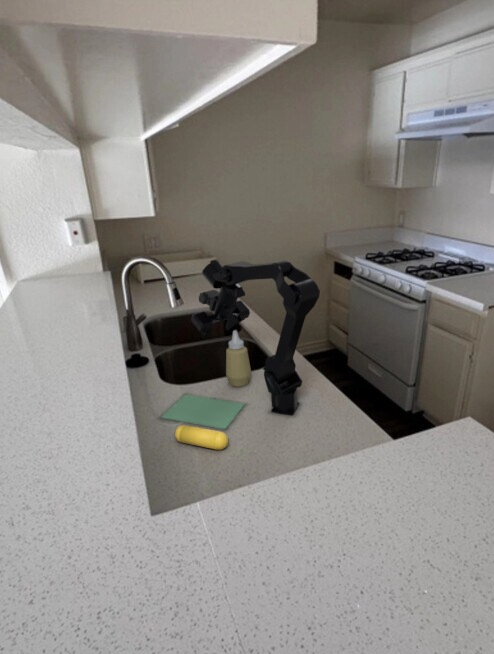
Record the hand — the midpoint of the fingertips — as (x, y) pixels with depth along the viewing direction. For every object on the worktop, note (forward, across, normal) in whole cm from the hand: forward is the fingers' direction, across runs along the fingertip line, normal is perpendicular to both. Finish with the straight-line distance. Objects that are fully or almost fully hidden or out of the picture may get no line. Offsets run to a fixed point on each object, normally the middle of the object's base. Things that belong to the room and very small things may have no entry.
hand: (215, 333), depth 134 cm
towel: (+5, +17, +21) cm, 27 cm away
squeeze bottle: (+8, -1, +16) cm, 18 cm away
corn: (-2, +26, +32) cm, 41 cm away
